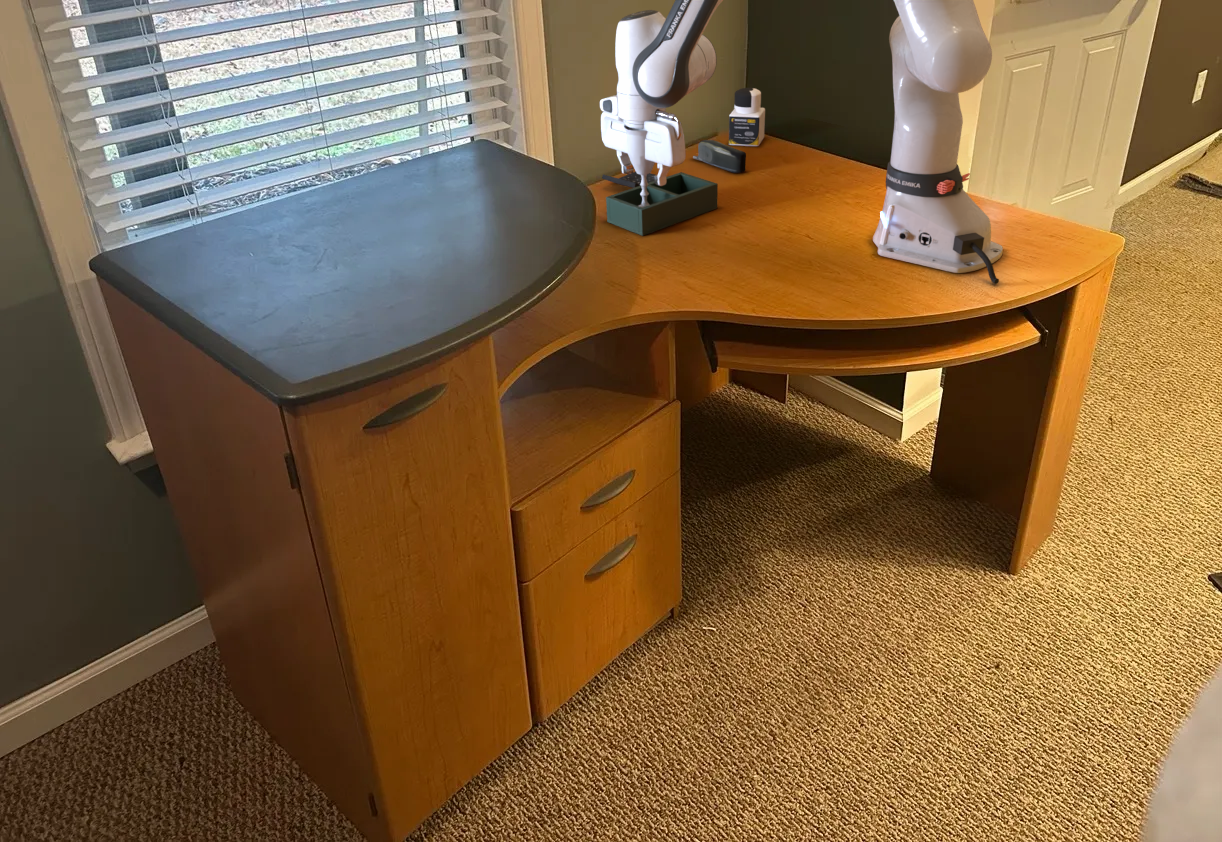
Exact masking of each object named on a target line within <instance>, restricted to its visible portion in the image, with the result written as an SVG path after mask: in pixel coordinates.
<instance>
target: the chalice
mask: <svg viewBox="0 0 1222 842" xmlns="http://www.w3.org/2000/svg"><path fill="white" fill-rule="evenodd" d="M624 128H625V130H626V132H627V152H628V156H629V159H630V163H631V164H632V165H633V170H635V171H634V172H637V174H640V175H641V177H642V181H641V184H640V185H641V187H642V192H641V193H640V195H641V196H642V203H641V205H639V207H642V208H643V207H646V206H649V203H648V202H647V196H648V195H649V193H648V192H647V186H648V183H647V180H646V177H647V174H649V173H651V174H652V172H653V168H654V166H655V164H656V162H653V161H650V160H646V159H645V139H646V134H647V132H648V131H647V130H646V131H632V130H628V128H627V126H626V125H624Z"/></svg>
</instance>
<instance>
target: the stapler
mask: <svg viewBox="0 0 1222 842" xmlns="http://www.w3.org/2000/svg"><path fill="white" fill-rule="evenodd" d="M697 148H698V149H697V150H698V151H697V155H693V156H692V159H694V160H697V161H700V162H703V163H705V164H708V165H710V166H714V167H716V168H718V169H722V170H724V171H727V172H730V173H732V174H741V173H744V172H746V170H747V169H746V168H747V167H746V163H747V153H746V152H745V151H743V150H740V149H737V148H735V147H732V146H731V145H727V144H724V143H723V142H720V141H718V140H714V139H703V140H700V141H699V143H698V147H697Z"/></svg>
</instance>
